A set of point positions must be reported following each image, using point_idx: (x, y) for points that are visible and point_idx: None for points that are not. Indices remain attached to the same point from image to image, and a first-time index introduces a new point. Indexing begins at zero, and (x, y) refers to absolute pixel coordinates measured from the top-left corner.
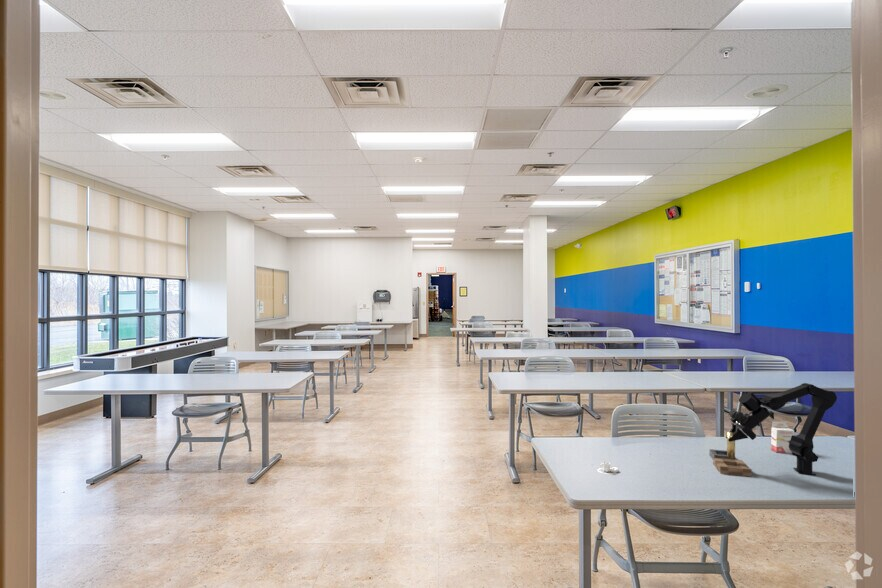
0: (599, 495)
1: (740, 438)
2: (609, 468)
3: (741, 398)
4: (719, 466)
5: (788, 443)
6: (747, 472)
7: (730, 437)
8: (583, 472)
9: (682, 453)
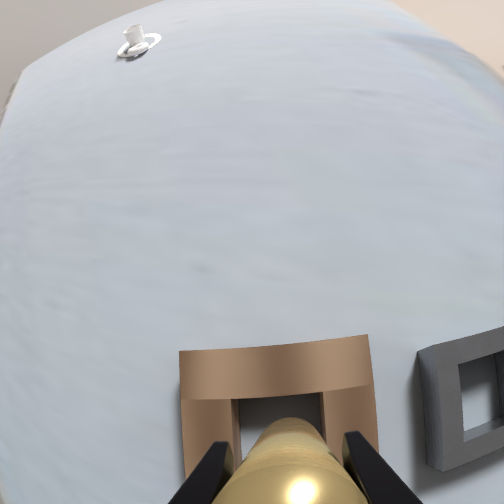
0: (27, 81)
1: None
2: (129, 42)
3: None
4: (203, 350)
5: None
6: None
7: (194, 477)
8: None
9: (459, 201)
